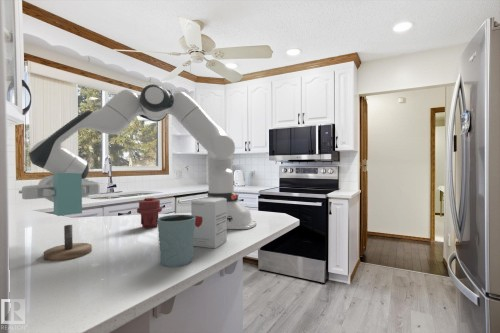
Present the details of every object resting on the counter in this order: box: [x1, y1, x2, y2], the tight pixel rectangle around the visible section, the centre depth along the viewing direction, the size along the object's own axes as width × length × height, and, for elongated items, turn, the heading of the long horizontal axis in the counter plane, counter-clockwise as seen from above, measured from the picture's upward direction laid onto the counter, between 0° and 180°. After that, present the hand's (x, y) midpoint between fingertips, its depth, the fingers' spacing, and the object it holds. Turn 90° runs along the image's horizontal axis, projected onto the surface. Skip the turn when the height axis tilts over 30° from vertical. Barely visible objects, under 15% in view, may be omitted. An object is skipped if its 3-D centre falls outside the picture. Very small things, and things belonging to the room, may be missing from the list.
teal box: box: [52, 173, 83, 217], centre depth 81 cm, size 6×6×12 cm
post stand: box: [43, 224, 93, 262], centre depth 81 cm, size 12×12×8 cm
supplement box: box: [190, 196, 228, 249], centre depth 90 cm, size 9×9×15 cm
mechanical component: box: [136, 197, 163, 230], centre depth 115 cm, size 12×10×10 cm
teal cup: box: [157, 214, 196, 268], centre depth 74 cm, size 10×10×12 cm
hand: (68, 191), depth 80 cm, fingers closed on teal box, 6 cm apart
